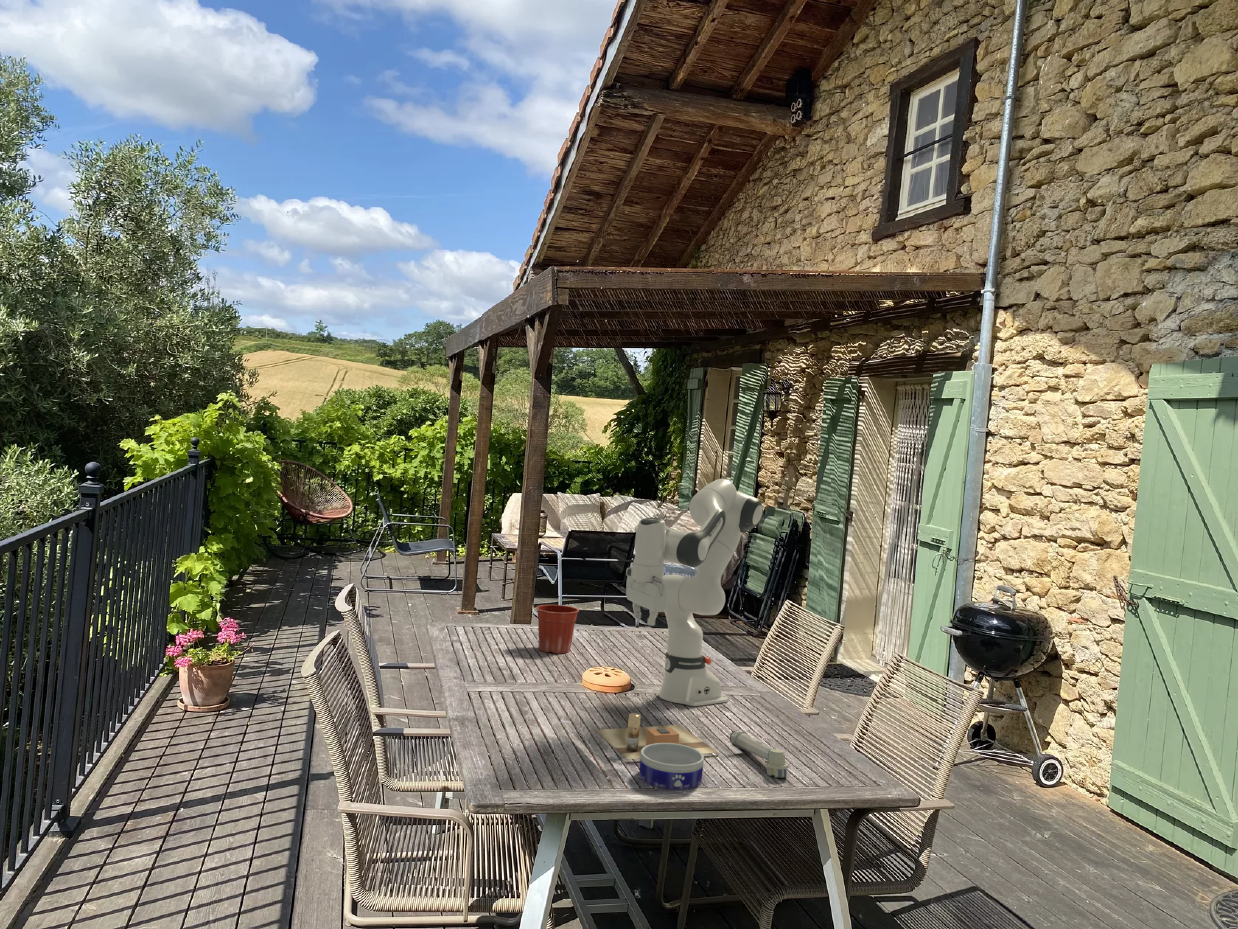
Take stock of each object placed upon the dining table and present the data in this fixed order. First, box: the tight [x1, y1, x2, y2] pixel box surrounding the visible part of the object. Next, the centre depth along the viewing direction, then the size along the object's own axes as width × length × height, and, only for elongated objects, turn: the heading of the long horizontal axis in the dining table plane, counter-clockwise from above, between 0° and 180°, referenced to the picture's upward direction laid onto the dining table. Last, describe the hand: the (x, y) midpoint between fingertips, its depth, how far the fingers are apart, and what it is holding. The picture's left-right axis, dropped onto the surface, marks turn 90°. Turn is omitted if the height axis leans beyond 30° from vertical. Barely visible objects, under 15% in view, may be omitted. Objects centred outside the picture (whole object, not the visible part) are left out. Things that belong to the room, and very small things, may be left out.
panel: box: [595, 724, 719, 765], centre depth 223 cm, size 26×22×1 cm
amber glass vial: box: [626, 712, 642, 752], centre depth 215 cm, size 3×3×9 cm
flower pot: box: [535, 604, 580, 654], centre depth 321 cm, size 16×16×16 cm
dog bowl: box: [639, 743, 705, 791], centre depth 201 cm, size 15×15×6 cm
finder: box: [646, 728, 679, 745], centre depth 219 cm, size 7×5×4 cm
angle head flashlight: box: [729, 730, 790, 779], centre depth 218 cm, size 5×7×25 cm
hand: (643, 621), depth 241 cm, fingers open, 8 cm apart
